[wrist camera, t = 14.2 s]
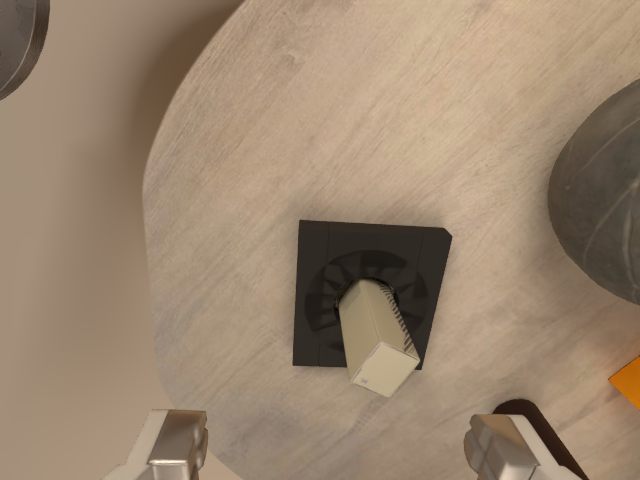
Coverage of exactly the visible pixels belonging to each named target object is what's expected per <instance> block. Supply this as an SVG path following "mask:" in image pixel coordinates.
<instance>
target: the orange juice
mask: <svg viewBox="0 0 640 480" xmlns="http://www.w3.org/2000/svg"><path fill="white" fill-rule="evenodd" d="M608 380H609V381H610V382H611V383H612V384H613V385H614V386H615V387H616V388H617V389H618V390H619V391H620V392H621V393H622V394H623V395H624V396H625V397H626V398H627V399H628V400H630V401H631V402H632V403H633V404H634V405H635V406H636V407H637V408H638V409H639V410H640V356H639V357H637V358H636V359H635V360H633V361H632V362H631V363H629V364H628V365H627V366H625V367H624V368H623V369H621V370H620V371H619V372H618V373H616V374H615V375H614V376H612V377H611V378H610V379H608Z"/></svg>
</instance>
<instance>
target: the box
mask: <svg viewBox="0 0 640 480" xmlns="http://www.w3.org/2000/svg"><path fill="white" fill-rule="evenodd" d="M338 307H339V314H340V320H341V327H342V334H343V341H344V348H345V355H346V361H347V368H348V375H349V381H350V382H351V383H352V384H355V385H357V386H360V387H362V388H364V389H367V390H369V391H372V392H374V393H377V394H379V395H382V396H384V397H387V398H390V397H391V396H392V395H393V394H394V393H395V392H396V390H397V389H398V388H399V387H400V386H401V385H402V383H403V382H404V381H405V380H406V379H407V377H408V376H409V375H410V374H411V372H412V371H413V370H414V369H415V367H416V366H417V365H418V363H419V362H420V359H419V356H418V354H417V351H416V349H415V347H414V344H413V342H412V340H411V338H410V335H409V333H408V330H407V328H406V326H405V324H404V321H403V319H402V317H401V314H400V312H399V310H398V307H397V305H396V303H395V300H394V298H393V296H392V293H391V291H390V288H389V287H388V286H386V285H384V284H382V283H381V282H379V281H377V280H375V279H373V278H371V277H362V278H359V279H355V280H353V282H352V283H351V285H350V286H349V288H348V289H347V291H346V292H345V294H344V295H343V297H342V298H341V300H340V301H339V303H338Z"/></svg>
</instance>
